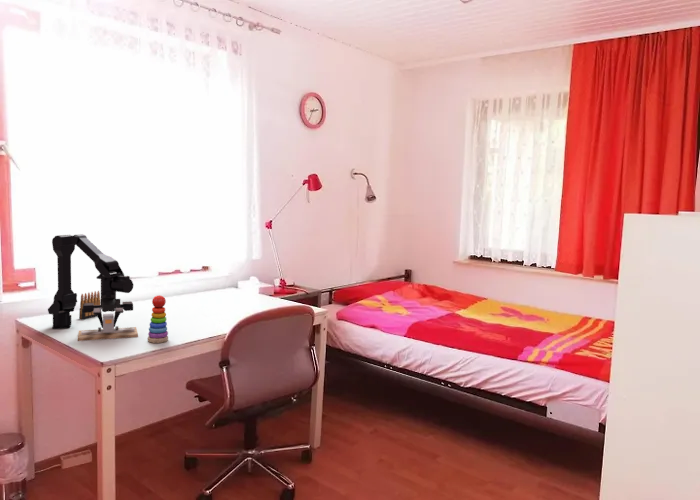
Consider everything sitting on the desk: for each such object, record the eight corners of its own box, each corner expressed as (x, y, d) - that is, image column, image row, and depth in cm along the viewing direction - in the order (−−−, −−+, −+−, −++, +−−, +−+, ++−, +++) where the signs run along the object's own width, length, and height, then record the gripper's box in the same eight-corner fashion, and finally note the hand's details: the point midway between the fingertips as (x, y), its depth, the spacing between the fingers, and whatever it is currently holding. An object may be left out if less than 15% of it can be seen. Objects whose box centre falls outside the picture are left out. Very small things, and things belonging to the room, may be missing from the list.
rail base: (77, 340, 204) (77, 333, 204) (78, 332, 215) (78, 325, 214) (137, 336, 214) (138, 329, 213) (136, 329, 224) (136, 322, 224)
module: (103, 332, 210) (103, 317, 209) (102, 328, 216) (102, 313, 216) (113, 332, 212) (113, 317, 211) (113, 327, 218) (113, 313, 217)
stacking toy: (143, 342, 206) (143, 296, 204) (154, 337, 214) (154, 292, 212) (161, 344, 205) (162, 298, 203) (171, 339, 213) (172, 294, 211)
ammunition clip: (98, 314, 246) (98, 290, 244) (101, 315, 245) (101, 290, 244) (79, 319, 236) (79, 293, 235) (82, 319, 235) (81, 294, 234)
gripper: (82, 294, 201) (82, 334, 203) (134, 293, 209) (133, 330, 211) (83, 289, 211) (83, 326, 212) (132, 288, 219) (132, 324, 221)
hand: (108, 327), depth 214 cm, fingers closed on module, 4 cm apart
